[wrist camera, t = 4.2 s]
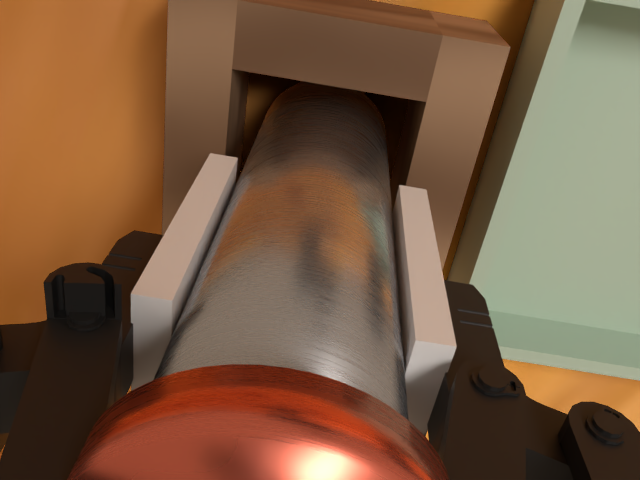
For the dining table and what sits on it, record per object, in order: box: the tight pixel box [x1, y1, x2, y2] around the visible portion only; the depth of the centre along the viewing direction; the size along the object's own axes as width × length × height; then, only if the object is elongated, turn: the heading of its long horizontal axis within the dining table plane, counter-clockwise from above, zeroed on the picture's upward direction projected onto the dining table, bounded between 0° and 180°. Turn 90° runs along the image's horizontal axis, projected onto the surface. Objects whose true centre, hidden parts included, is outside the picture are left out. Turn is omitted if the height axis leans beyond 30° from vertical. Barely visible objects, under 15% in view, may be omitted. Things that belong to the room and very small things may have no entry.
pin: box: [67, 81, 449, 480], centre depth 15 cm, size 6×6×16 cm
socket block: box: [162, 0, 511, 270], centre depth 22 cm, size 10×10×4 cm
